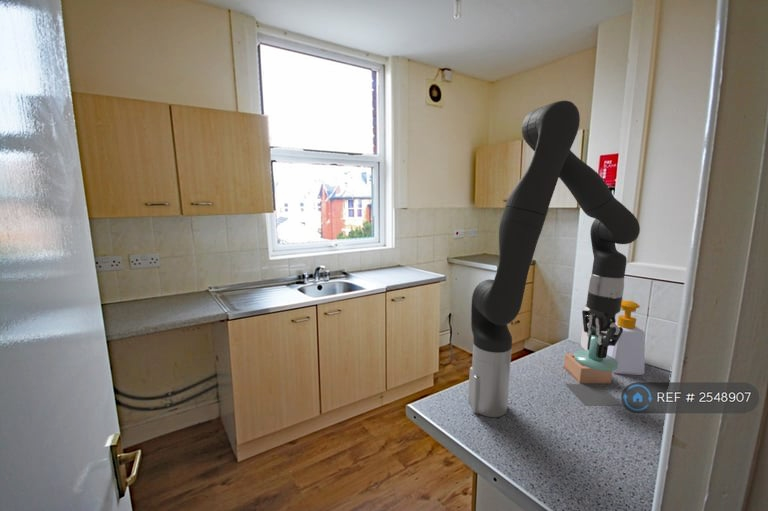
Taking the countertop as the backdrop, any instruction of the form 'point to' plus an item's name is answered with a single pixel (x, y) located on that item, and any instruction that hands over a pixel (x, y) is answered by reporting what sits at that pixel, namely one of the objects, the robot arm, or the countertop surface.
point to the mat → (593, 395)
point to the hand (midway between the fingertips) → (596, 353)
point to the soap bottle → (629, 343)
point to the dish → (585, 372)
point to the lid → (595, 357)
